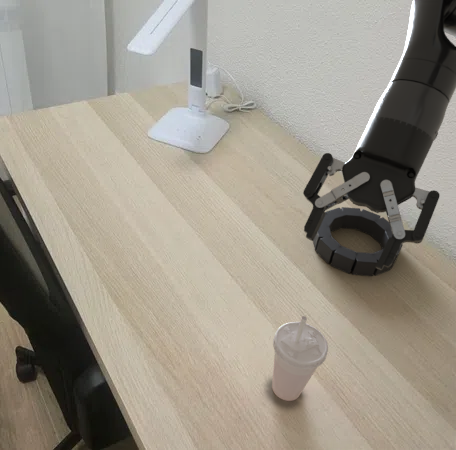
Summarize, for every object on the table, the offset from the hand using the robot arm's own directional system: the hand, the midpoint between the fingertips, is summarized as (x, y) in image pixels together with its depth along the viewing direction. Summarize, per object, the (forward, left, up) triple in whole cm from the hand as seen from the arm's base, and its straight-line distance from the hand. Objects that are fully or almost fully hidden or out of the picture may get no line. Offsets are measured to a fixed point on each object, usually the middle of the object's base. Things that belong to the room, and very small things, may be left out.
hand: (343, 253), depth 65 cm
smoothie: (0, +8, -18) cm, 20 cm away
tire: (+2, -24, -18) cm, 30 cm away
